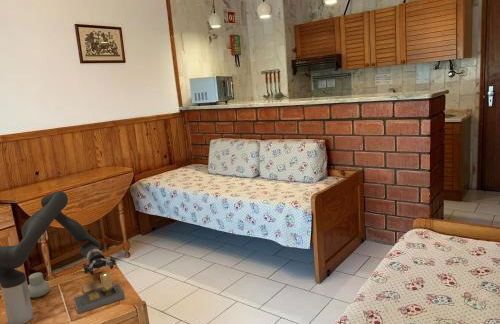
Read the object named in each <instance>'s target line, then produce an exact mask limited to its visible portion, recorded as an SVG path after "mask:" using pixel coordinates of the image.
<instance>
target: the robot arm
mask: <svg viewBox="0 0 500 324" xmlns="http://www.w3.org/2000/svg"><path fill="white" fill-rule="evenodd" d="M40 203H41V204H40V205H41V208H40V209H39V210H37V211H35V212H34V213H33V214H32V215H31V216H30V217H29V218H28V219H27V220H26V221H25V222H24V224H23V225H22V228H21V234H22V239H21V240H20V242H19V243H17V244H15V245H5V246H4V245H2V246H0V287H1V293H2V298H3V302H4V309H5V313H6V314H5V315H6V318H7V323H8V324H27V323H29V322H30V321H31V320H33V319H34V316H35V315H34V310H33V306H32V300H31V297H30V295H29V290H28V282H27V277H26V273H24V272H23V271H22V270H18V268H21V267H22V266H23V265H24V264H25V262H26V261H27V259H28V257H29V256H30V254H31V252H32V250H33V249H34V247H35V245H36V244H37V243H38V241H39V240H40V238H41V237H42V236H43V235H44V234H45V232H46V231H47V230H48V228H50V227H49V226H51V224H52V223H53V221H54V220H55V221H56V222H57V223H58V224H59V225H61V227H63V228H64V229H65V230H66V231H67V233H68V234H69V235H70V236H71V237H72V238H73V241H75V242H76V243H78V244H79V243H83V242H85V241H86V242H85V243H84V244H82V245H81V246H80V248H79V253H80V254H81V256H82V257H84V258H86V259H87V260H86V261H87V263H88V264H87V263H83V264H82V267H83V270H84V271H83V272H84V274H88V273H89V275H92V276H93V275H95V273H94V271H96V270H98V269H100V268H108V267H109V268H110V270H113V269H114V266H115V265H116V264H117V263H116V259H115V258H114V256H109V258H106V256H105V255H104V254H103V252H102V251H101V250H100V249H101V247H102V245H101V243H100V241H99V240H97V239H96V238H95V237H93V236H92V235H90V233H88V232H87V230H86V229H85V228H84V226H83V225H82V224H81V223H80V222H79V221H78V220H75V219H73V218H71V217H69V216H67V215H66V214H64V213H63V210H64V209H65V208H66V206H67V205H68V203H69V197H68V194H66V192H64V191H61V190H57V191H54V192H52V193H49V194H47V195H45V196H43V197H42V198H41V201H40Z"/></svg>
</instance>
